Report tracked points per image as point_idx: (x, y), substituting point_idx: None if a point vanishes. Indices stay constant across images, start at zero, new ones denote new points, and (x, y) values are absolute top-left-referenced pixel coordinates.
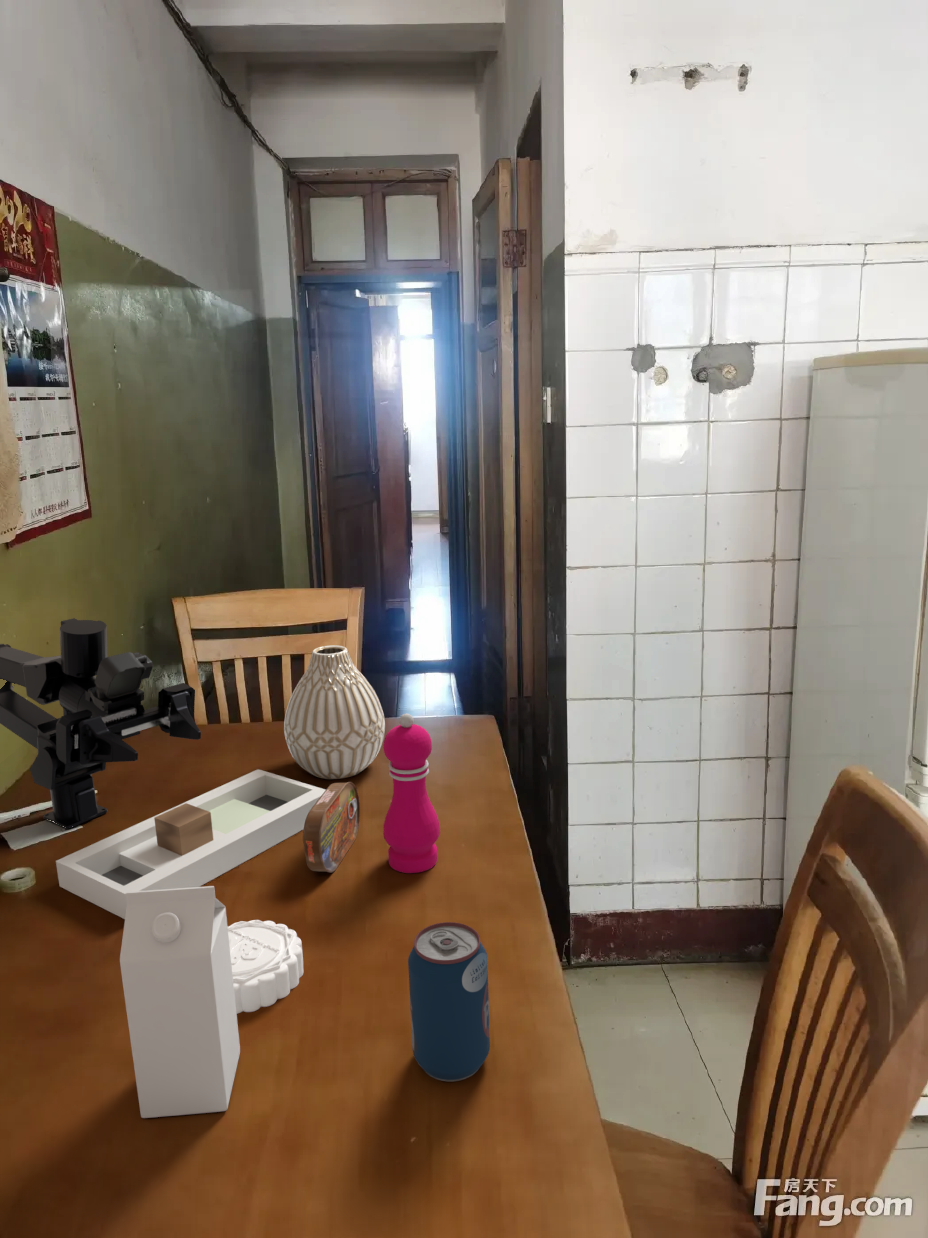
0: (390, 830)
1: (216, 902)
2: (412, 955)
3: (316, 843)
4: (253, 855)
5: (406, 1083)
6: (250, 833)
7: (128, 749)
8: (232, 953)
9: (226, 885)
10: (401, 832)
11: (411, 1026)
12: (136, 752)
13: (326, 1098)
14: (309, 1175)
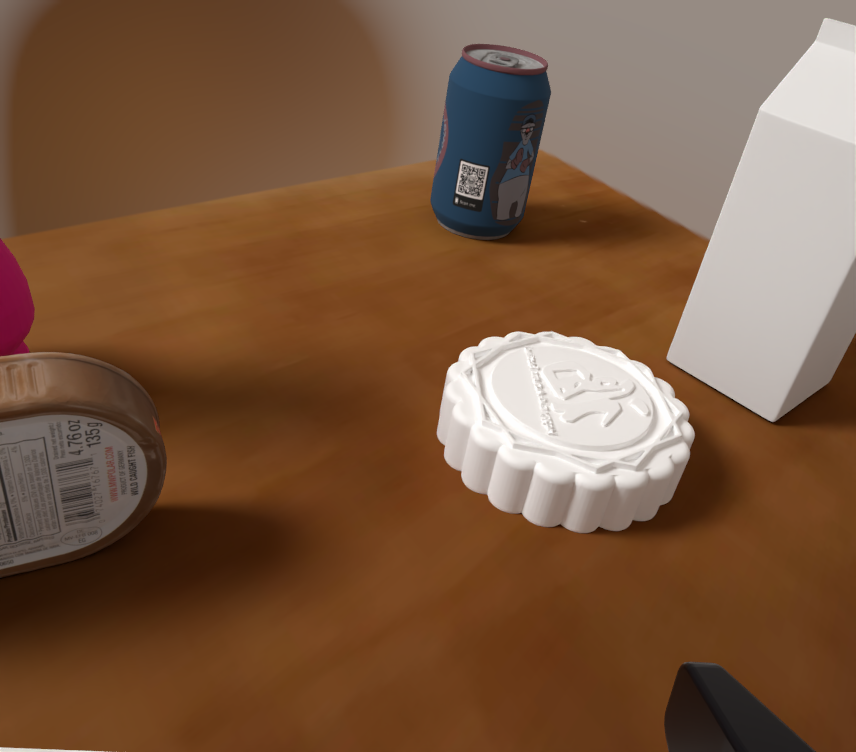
0: (11, 301)
1: (797, 70)
2: (540, 83)
3: (151, 409)
4: None
5: (536, 239)
6: (48, 749)
7: (776, 722)
8: (596, 396)
9: (303, 741)
10: (23, 278)
11: (521, 189)
12: (697, 662)
13: (617, 276)
14: (687, 257)
